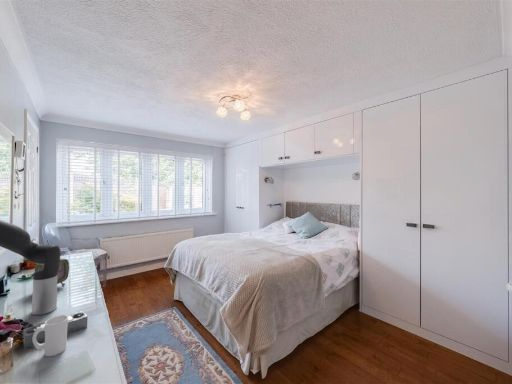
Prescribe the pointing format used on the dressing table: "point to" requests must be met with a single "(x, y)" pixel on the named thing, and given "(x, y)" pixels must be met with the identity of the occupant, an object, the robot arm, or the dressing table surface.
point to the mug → (53, 335)
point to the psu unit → (74, 324)
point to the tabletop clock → (62, 270)
